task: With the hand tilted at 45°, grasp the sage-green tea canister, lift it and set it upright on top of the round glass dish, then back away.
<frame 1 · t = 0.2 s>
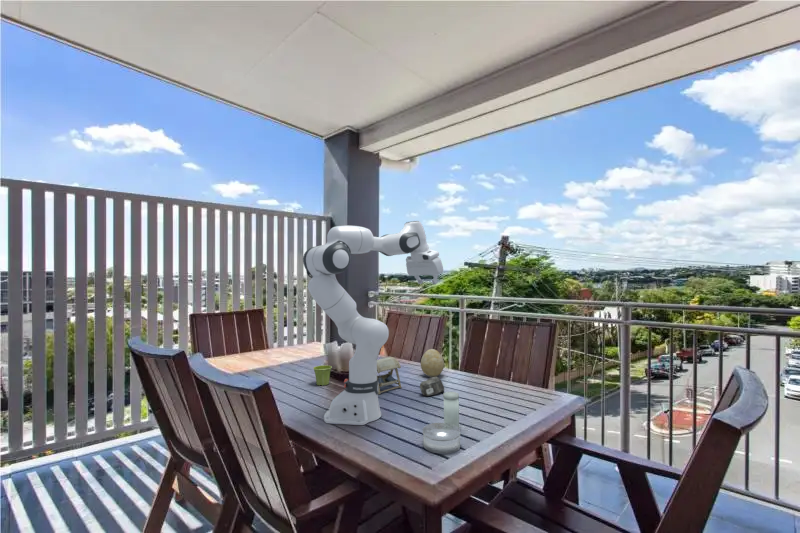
hand: (427, 283, 174), 52 cm above the table, fingers open, 8 cm apart
round glass dish: (441, 445, 122), on the table
fossilized egg: (432, 376, 204), on the table
swing bench: (384, 389, 183), on the table
stone: (433, 394, 175), on the table
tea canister: (451, 427, 136), on the table
plant pot: (322, 384, 193), on the table
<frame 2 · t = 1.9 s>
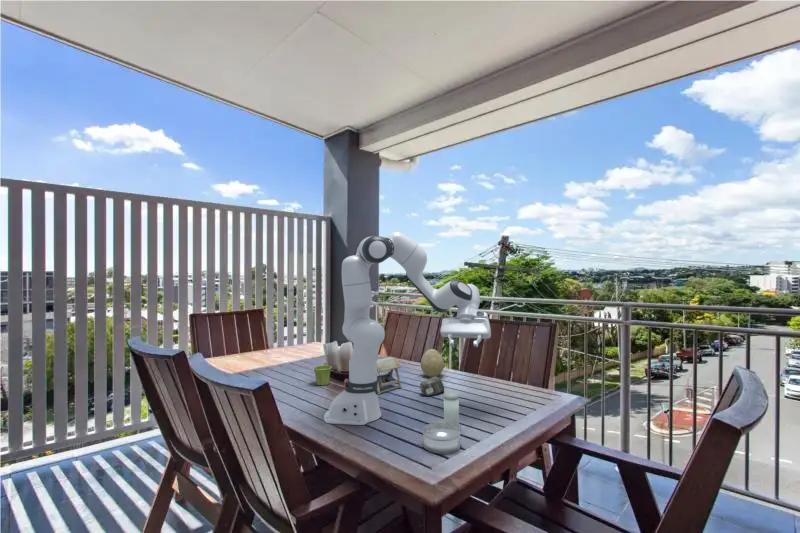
hand: (463, 345, 147), 28 cm above the table, fingers open, 8 cm apart
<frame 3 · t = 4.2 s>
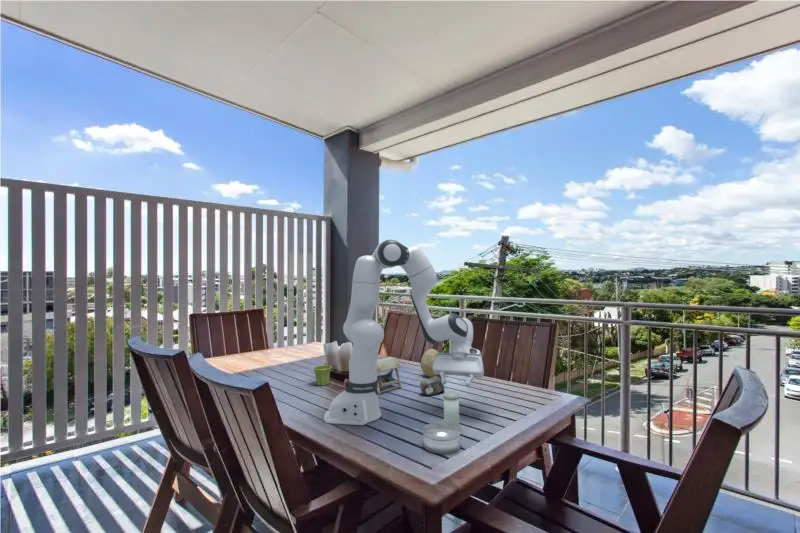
hand: (455, 384, 144), 13 cm above the table, fingers open, 8 cm apart
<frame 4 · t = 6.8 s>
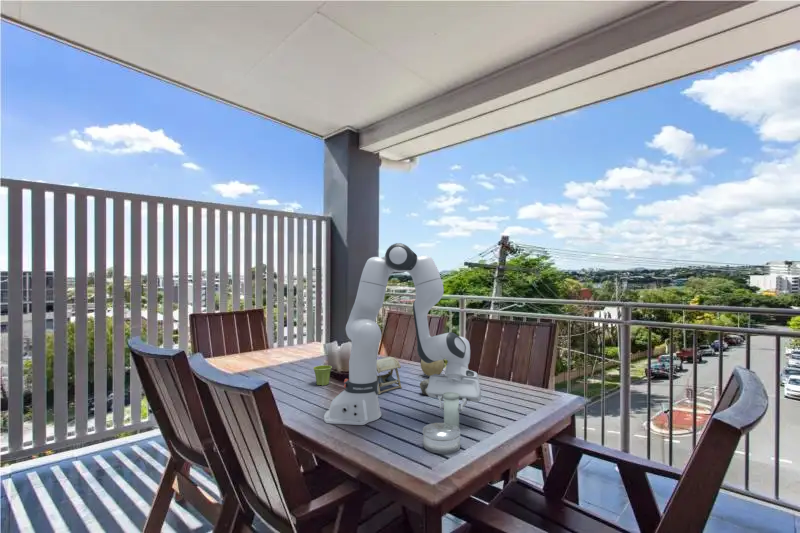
hand: (450, 409, 136), 7 cm above the table, fingers closed on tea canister, 5 cm apart
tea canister: (451, 427, 137), on the table, touching gripper
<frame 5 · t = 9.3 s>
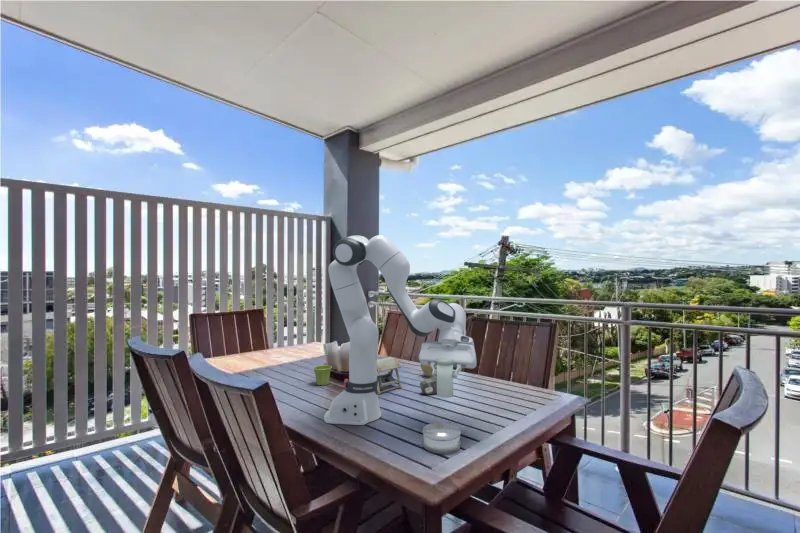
hand: (444, 376, 127), 21 cm above the table, fingers closed on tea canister, 5 cm apart
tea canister: (445, 395, 128), point 15 cm above the table, touching gripper
when the fingers open (13 cm above the table, at t = 12.1 s): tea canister drops 2 cm, resting on round glass dish.
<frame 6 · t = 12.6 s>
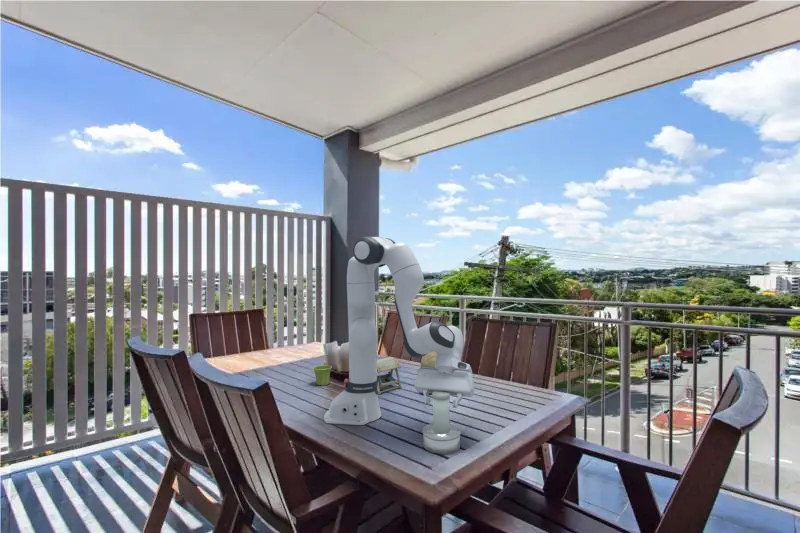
hand: (440, 405, 122), 13 cm above the table, fingers open, 8 cm apart
round glass dish: (441, 445, 122), on the table, touching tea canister
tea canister: (441, 430, 123), point 5 cm above the table, touching round glass dish
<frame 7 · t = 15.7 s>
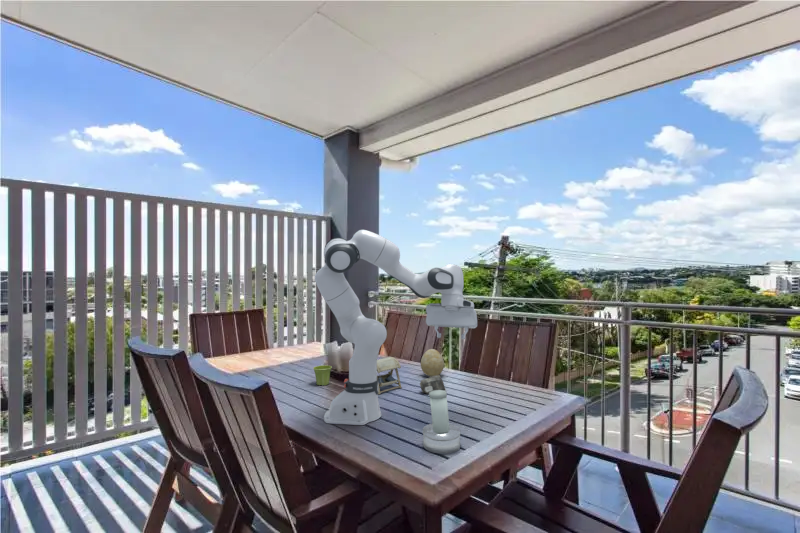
hand: (450, 338, 146), 31 cm above the table, fingers open, 8 cm apart
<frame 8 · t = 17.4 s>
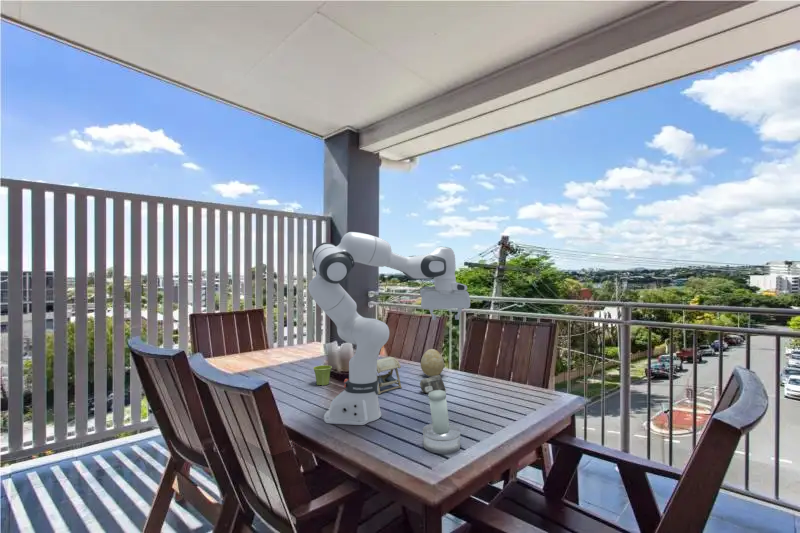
hand: (445, 319, 154), 37 cm above the table, fingers open, 8 cm apart
round glass dish: (441, 445, 122), on the table
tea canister: (441, 429, 123), point 5 cm above the table, tilted 7°
at the end: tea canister touching round glass dish; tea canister tilted 7° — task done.
